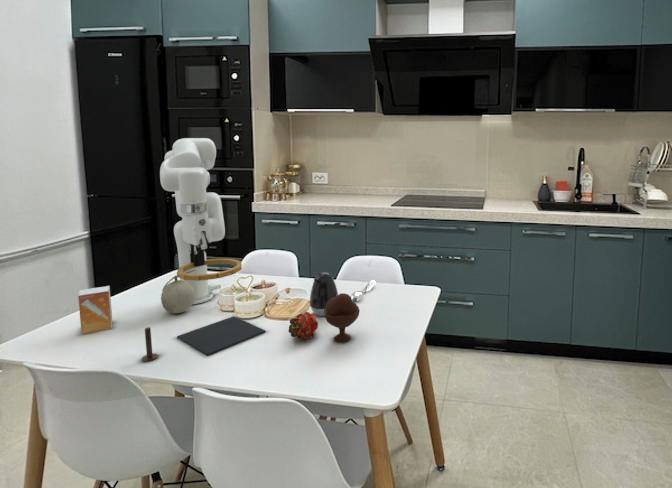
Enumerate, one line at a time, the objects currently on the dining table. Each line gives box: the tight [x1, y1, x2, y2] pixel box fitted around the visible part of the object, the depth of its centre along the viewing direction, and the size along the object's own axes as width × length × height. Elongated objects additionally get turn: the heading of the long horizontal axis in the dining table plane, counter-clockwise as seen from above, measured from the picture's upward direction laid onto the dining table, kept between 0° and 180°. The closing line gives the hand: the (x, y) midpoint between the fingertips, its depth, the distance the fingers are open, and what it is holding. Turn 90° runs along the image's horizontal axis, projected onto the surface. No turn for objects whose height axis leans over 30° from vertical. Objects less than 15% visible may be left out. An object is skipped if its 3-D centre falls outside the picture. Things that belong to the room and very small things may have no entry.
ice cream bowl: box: [324, 293, 360, 344], centre depth 134 cm, size 11×11×15 cm
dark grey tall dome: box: [309, 271, 339, 317], centre depth 154 cm, size 10×10×15 cm
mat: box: [176, 315, 267, 356], centre depth 138 cm, size 19×19×1 cm
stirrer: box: [350, 280, 377, 303], centre depth 175 cm, size 20×4×5 cm
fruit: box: [160, 270, 196, 315], centre depth 155 cm, size 10×12×15 cm
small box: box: [77, 285, 113, 335], centre depth 143 cm, size 8×6×13 cm
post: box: [141, 326, 159, 363], centre depth 123 cm, size 4×4×9 cm
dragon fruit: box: [287, 311, 319, 341], centre depth 137 cm, size 8×8×12 cm
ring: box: [176, 258, 243, 281], centre depth 134 cm, size 18×18×1 cm
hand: (197, 264), depth 139 cm, fingers closed on ring, 1 cm apart
